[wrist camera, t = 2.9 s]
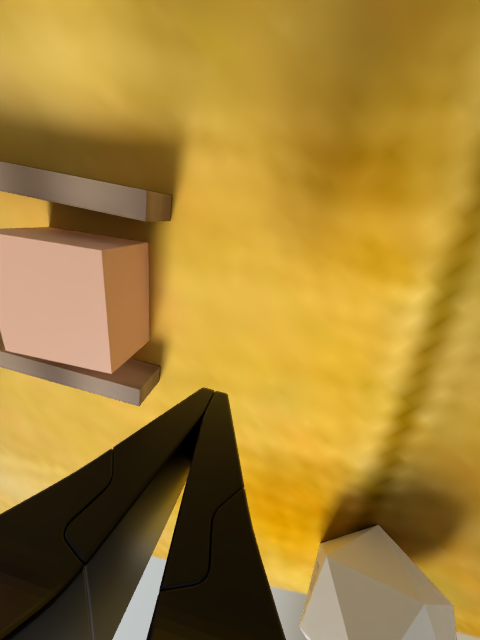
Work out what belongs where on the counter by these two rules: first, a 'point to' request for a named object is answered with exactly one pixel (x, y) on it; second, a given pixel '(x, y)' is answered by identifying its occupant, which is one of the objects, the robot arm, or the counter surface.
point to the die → (373, 593)
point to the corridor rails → (114, 199)
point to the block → (73, 296)
